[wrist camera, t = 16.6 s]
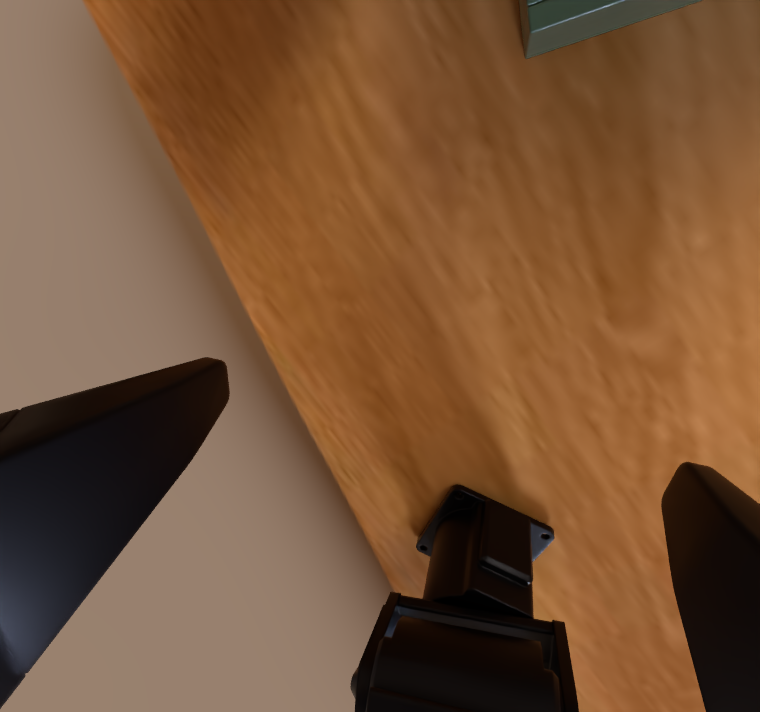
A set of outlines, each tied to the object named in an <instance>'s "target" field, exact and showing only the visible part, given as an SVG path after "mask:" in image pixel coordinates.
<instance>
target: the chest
mask: <svg viewBox="0 0 760 712" xmlns="http://www.w3.org/2000/svg"><path fill="white" fill-rule="evenodd" d="M699 1H702V0H519V9H520V18H521V27H522V37H523V46H524V55H525V59H528V58H531V57H534V56H537V55H540V54H543V53H546V52H549V51H552V50H555V49H558V48H561V47H564V46H567V45H570V44H573V43H576V42H579V41H582V40H585V39H588V38H591V37H594V36H597V35H600V34H603V33H606V32H609V31H612V30H615V29H618V28H621V27H624V26H627V25H630V24H633V23H636V22H639V21H642V20H645V19H648V18H651V17H654V16H657V15H660V14H663V13H666V12H669V11H672V10H675V9H678V8H681V7H684V6H687V5H690V4H693V3H696V2H699Z"/></svg>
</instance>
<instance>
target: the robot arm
mask: <svg viewBox="0 0 760 712" xmlns="http://www.w3.org/2000/svg"><path fill="white" fill-rule="evenodd" d="M229 394H230V393H229V382H228V374H227V366H226V364H225V362H223V361H222V360H218V359H213V358H208V357H205V358H201V359H197V360H194V361H190V362H186V363H183V364H180V365H176V366H172V367H169V368H165V369H161V370H158V371H154V372H150V373H147V374H143V375H139V376H136V377H132V378H128V379H125V380H121V381H118V382H114V383H111V384H107V385H103V386H99V387H96V388H92V389H89V390H85V391H81V392H78V393H74V394H71V395H67V396H63V397H60V398H56V399H53V400H49V401H45V402H42V403H38V404H34V405H31V406H27V407H24V408H22V409H21V410H18V409H16V410H12V411H9V412H5V413H1V414H0V709H1V707H2V706H3V704H4V703H5V702H6V701H7V699H8V698H9V697H10V696H11V694H12V693H13V691H14V690H15V689H16V688H17V687H18V685H19V684H20V683H21V681H22V680H23V679H24V677H25V673H28V672H29V671H30V669H31V668H32V666H33V665H34V664H35V663H36V661H37V660H38V659H39V657H40V656H41V655H42V654H43V652H44V651H45V650H46V648H47V647H48V646H49V644H50V643H51V642H52V641H53V639H54V638H55V637H56V635H57V634H58V633H59V632H60V630H61V629H62V628H63V626H64V625H65V624H66V623H67V621H68V620H69V619H70V617H71V616H72V615H73V614H74V612H75V611H76V610H77V608H78V607H79V606H80V604H81V603H82V602H83V600H84V599H85V598H86V597H87V595H88V594H89V593H90V591H91V590H92V589H93V587H94V586H95V585H96V584H97V582H98V581H99V580H100V579H101V577H102V576H103V575H104V573H105V572H106V571H107V569H108V568H109V567H110V566H111V564H112V563H113V562H114V560H115V559H116V558H117V556H118V555H119V554H120V553H121V551H122V550H123V548H124V547H125V546H126V545H127V543H128V542H129V541H130V540H131V538H132V537H133V536H134V534H135V533H136V532H137V531H138V529H139V528H140V527H141V525H142V524H143V523H144V521H145V520H146V519H147V518H148V516H149V515H150V514H151V512H152V511H153V510H154V509H155V507H156V506H157V505H158V503H159V502H160V501H161V499H162V498H163V497H164V496H165V494H166V493H167V492H168V490H169V489H170V488H171V486H172V485H173V484H174V483H175V481H176V480H177V479H178V478H179V476H180V475H181V474H182V472H183V471H184V470H185V468H186V467H187V466H188V464H189V463H190V462H191V460H192V459H193V457H194V456H195V454H196V453H197V451H198V450H199V448H200V447H201V445H202V443H203V442H204V440H205V438H206V437H207V435H208V434H209V432H210V430H211V429H212V427H213V426H214V424H215V422H216V421H217V419H218V417H219V416H220V414H221V413H222V411H223V409H224V408H225V406H226V404H227V402H228V400H229ZM457 493H461V494H457ZM661 507H662V514H663V521H664V528H665V535H666V542H667V549H668V556H669V563H670V570H671V576H672V582H673V588H674V592H675V596H676V600H677V604H678V608H679V612H680V616H681V619H682V623H683V627H684V631H685V634H686V638H687V642H688V646H689V649H690V653H691V657H692V661H693V664H694V668H695V672H696V676H697V679H698V683H699V687H700V691H701V694H702V698H703V702H704V706H705V709H706V712H760V504H759V503H757V502H756V501H755V500H753V499H752V498H751V497H749V496H748V495H747V494H746V493H744V492H743V491H742V490H740V489H739V488H738V487H736V486H735V485H734V484H733V483H731V482H730V481H729V480H727V479H726V478H725V477H723V476H722V475H721V474H719V473H718V472H717V471H716V470H714V469H713V468H711V467H708V466H704V465H699V464H695V463H690V462H685V463H682V464H681V465H680V466H679V467H678V469H677V470H676V472H675V474H674V476H673V478H672V479H671V481H670V483H669V485H668V487H667V488H666V490H665V492H664V494H663V497H662V504H661ZM543 533H546V534H543ZM553 540H554V530H553V529H552V528H551V527H550V526H548V525H546V524H544V523H542V522H539V521H537V520H535V519H533V518H531V517H529V516H527V515H524V514H522V513H520V512H518V511H516V510H514V509H512V508H509V507H507V506H505V505H503V504H501V503H499V502H497V501H494V500H492V499H490V498H488V497H486V496H484V495H481V494H479V493H477V492H475V491H473V490H471V489H469V488H466V487H464V486H462V485H455V486H453V487H452V488H451V490H450V491H449V493H448V494H447V496H446V497H445V499H444V500H443V502H442V503H441V505H440V506H439V508H438V509H437V511H436V512H435V514H434V516H433V517H432V519H431V520H430V522H429V523H428V525H427V526H426V528H425V529H424V531H423V532H422V534H421V535H420V537H419V539H418V541H417V545H416V548H417V550H418V551H420V552H422V553H424V554H426V555H428V556H430V557H431V558H430V563H429V568H428V573H427V579H426V584H425V589H424V595H423V599H419V598H413V597H407V596H402V595H401V593H395V592H390V595H389V597H388V599H387V602H386V604H385V605H383V607H382V610H381V612H380V615H379V617H378V620H377V622H376V624H375V627H374V629H373V631H372V634H371V637H370V639H369V641H368V644H367V646H366V649H365V651H364V653H363V656H362V658H361V661H360V663H359V666H358V668H357V670H356V671H355V673H354V674H353V677H352V680H351V691H352V693H353V695H354V697H355V699H356V701H355V712H579V709H578V701H577V694H576V688H575V682H574V676H573V670H572V664H571V658H570V652H569V646H568V640H567V634H566V629H565V623H564V622H561V621H555V620H552V622H549V621H544V620H538V619H534V617H533V592H532V581H533V566H532V562H533V561H534V560H535V559H536V558H537V557H538V556H539V555H540V554H541V553H542V552H543V551H544V550H545V548H546V547H547V546H548V545H549V544H550V543H551V542H552V541H553Z"/></svg>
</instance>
